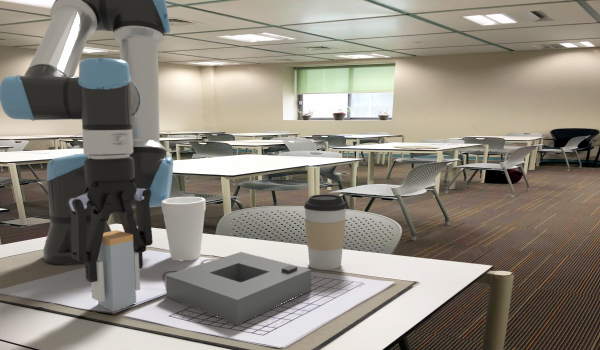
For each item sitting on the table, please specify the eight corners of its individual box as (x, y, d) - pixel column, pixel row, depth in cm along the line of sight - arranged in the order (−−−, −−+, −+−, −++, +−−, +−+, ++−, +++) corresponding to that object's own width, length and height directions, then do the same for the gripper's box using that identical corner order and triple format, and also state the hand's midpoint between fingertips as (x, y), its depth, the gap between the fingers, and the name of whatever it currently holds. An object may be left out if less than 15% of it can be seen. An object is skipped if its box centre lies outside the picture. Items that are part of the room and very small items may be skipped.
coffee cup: (297, 268, 97) (297, 197, 95) (312, 256, 106) (312, 190, 104) (339, 273, 94) (339, 199, 92) (351, 260, 102) (352, 193, 100)
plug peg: (98, 304, 79) (94, 234, 78) (120, 297, 82) (116, 230, 81) (114, 311, 76) (110, 239, 74) (136, 304, 79) (132, 234, 78)
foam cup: (161, 253, 108) (159, 198, 107) (201, 249, 112) (200, 195, 110) (167, 265, 99) (164, 205, 98) (210, 260, 103) (208, 202, 102)
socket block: (166, 297, 82) (165, 271, 81) (241, 270, 96) (240, 249, 95) (238, 325, 71) (237, 296, 70) (310, 290, 84) (310, 266, 84)
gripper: (60, 161, 66) (71, 317, 69) (171, 153, 81) (176, 283, 84) (38, 159, 71) (49, 305, 74) (146, 151, 86) (152, 274, 88)
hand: (116, 293), depth 79 cm, fingers open, 6 cm apart
